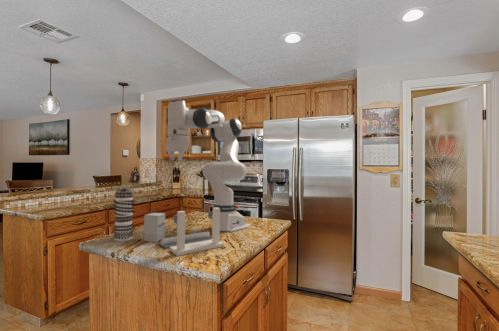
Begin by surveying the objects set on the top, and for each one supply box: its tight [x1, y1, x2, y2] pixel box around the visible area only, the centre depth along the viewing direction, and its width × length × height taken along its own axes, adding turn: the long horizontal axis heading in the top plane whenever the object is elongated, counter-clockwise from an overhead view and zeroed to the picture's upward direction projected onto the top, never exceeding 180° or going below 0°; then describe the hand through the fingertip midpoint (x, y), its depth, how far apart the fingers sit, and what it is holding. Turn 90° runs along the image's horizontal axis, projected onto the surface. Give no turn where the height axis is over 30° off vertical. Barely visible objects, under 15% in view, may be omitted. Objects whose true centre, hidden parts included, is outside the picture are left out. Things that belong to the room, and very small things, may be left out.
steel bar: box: [160, 231, 211, 245], centre depth 127 cm, size 24×2×2 cm, turn 128°
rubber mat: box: [158, 236, 212, 250], centre depth 127 cm, size 24×8×1 cm, turn 128°
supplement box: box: [143, 212, 166, 243], centre depth 130 cm, size 7×7×13 cm
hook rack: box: [169, 207, 224, 257], centre depth 118 cm, size 22×8×18 cm, turn 128°
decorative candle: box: [113, 187, 135, 242], centre depth 131 cm, size 9×9×25 cm
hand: (176, 160), depth 130 cm, fingers open, 8 cm apart
